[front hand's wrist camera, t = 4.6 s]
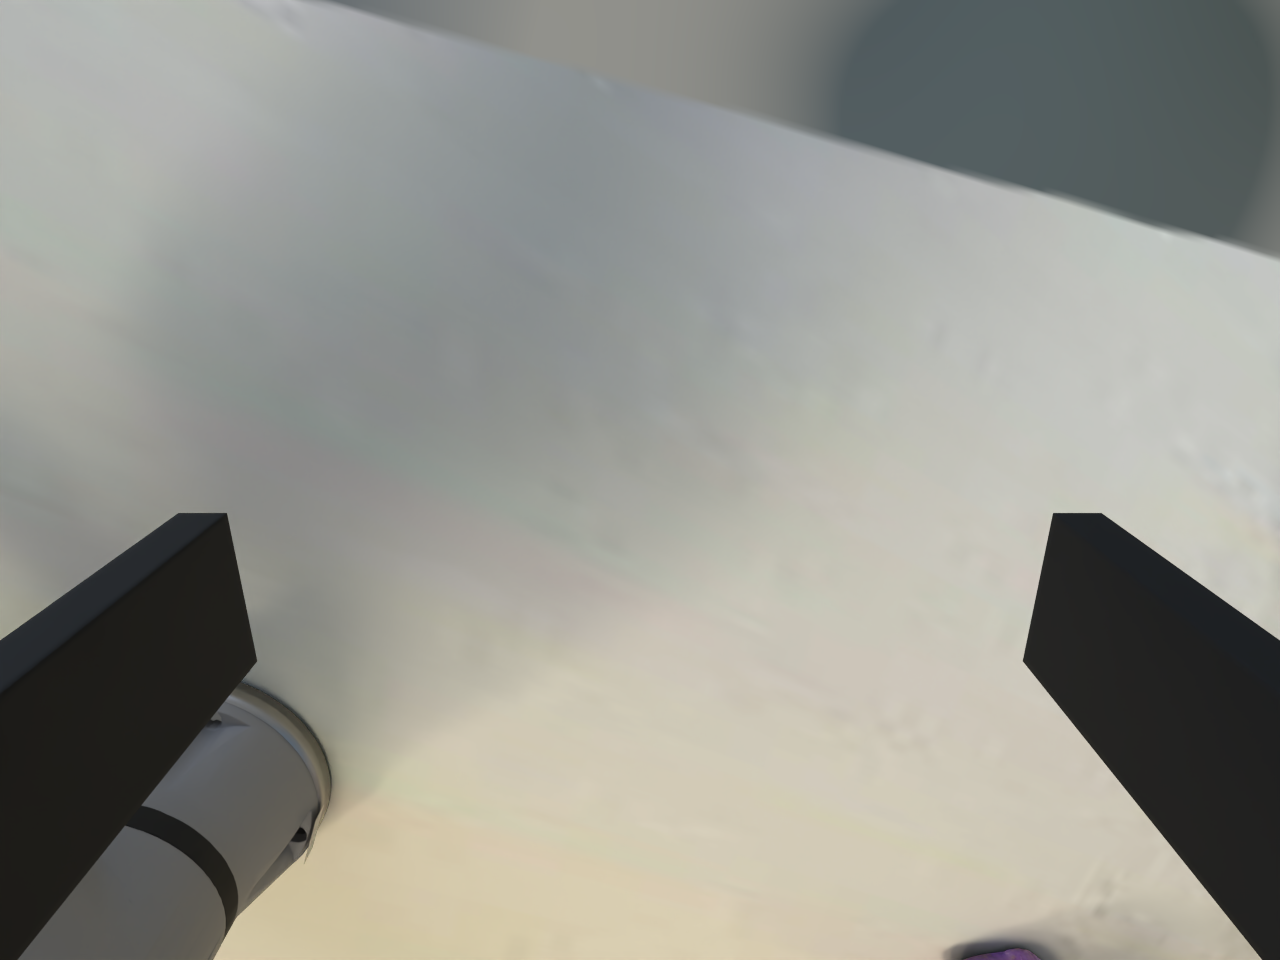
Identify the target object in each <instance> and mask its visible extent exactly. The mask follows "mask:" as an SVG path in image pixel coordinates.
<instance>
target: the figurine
mask: <svg viewBox="0 0 1280 960" xmlns="http://www.w3.org/2000/svg"><path fill="white" fill-rule="evenodd" d="M963 960H1041V959H1040V958H1038V957H1037V956H1036V955H1034V954H1033V953H1032V952H1030V951H1029V950H1026V949H1021V948H1015V949H1008V950H1006V951H1004V952H996V953H988V954H981V955H977V956H973V957H970V958H967V959H963Z"/></svg>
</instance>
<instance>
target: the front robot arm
mask: <svg viewBox="0 0 1280 960" xmlns="http://www.w3.org/2000/svg"><path fill="white" fill-rule="evenodd" d="M256 662H257V658H256V653H255V648H254V643H253V639H252V634H251V629H250V624H249V619H248V614H247V609H246V604H245V600H244V595H243V590H242V585H241V580H240V575H239V570H238V565H237V560H236V556H235V551H234V546H233V541H232V536H231V531H230V526H229V521H228V517H227V513H178V514H177V515H175V516H174V517H173V518H171V519H170V520H168V521H167V522H166V523H164V524H163V525H161V526H160V527H159V528H157V529H156V530H154V531H153V532H152V533H150V534H149V535H147V536H146V537H145V538H143V539H142V540H140V541H139V542H138V543H136V544H135V545H133V546H132V547H131V548H129V549H128V550H126V551H125V552H124V553H122V554H121V555H119V556H118V557H117V558H115V559H114V560H112V561H111V562H110V563H108V564H107V565H105V566H104V567H103V568H101V569H100V570H98V571H97V572H96V573H94V574H93V575H91V576H90V577H89V578H87V579H86V580H84V581H83V582H82V583H80V584H79V585H77V586H76V587H75V588H73V589H72V590H70V591H69V592H68V593H66V594H65V595H63V596H62V597H61V598H59V599H58V600H56V601H55V602H54V603H52V604H51V605H49V606H48V607H47V608H45V609H44V610H42V611H41V612H40V613H38V614H37V615H35V616H34V617H33V618H31V619H30V620H28V621H27V622H26V623H24V624H23V625H21V626H20V627H19V628H17V629H16V630H14V631H13V632H12V633H10V634H9V635H7V636H6V637H5V638H3V639H2V640H0V960H213V959H214V957H215V955H216V953H217V952H218V950H219V948H220V946H221V944H222V942H223V940H224V938H225V937H226V935H227V933H228V931H229V929H230V928H231V926H232V924H233V922H234V921H235V919H236V917H237V916H238V915H239V914H240V913H241V912H242V911H243V910H244V909H246V908H247V907H248V906H249V905H250V904H251V903H252V902H253V901H254V900H255V899H256V898H257V897H258V896H259V895H260V894H261V893H262V892H263V891H264V890H265V889H267V888H268V887H269V886H270V885H271V884H272V883H273V882H274V881H275V880H276V879H277V878H278V877H279V876H280V875H281V874H282V873H283V872H284V871H285V870H286V869H287V868H289V867H290V866H291V865H292V864H293V863H294V862H295V861H296V860H297V859H298V858H299V857H300V856H301V855H302V854H303V853H304V852H305V850H306V849H307V848H308V851H307V854H306V858H305V861H306V859H307V857H308V855H309V853H310V851H311V849H312V847H313V843H314V840H315V836H316V832H317V830H318V828H319V826H320V824H321V822H322V820H323V818H324V815H325V813H326V810H327V807H328V803H329V799H330V775H329V770H328V766H327V763H326V760H325V757H324V754H323V752H322V750H321V748H320V746H319V744H318V743H317V741H316V740H315V738H314V736H313V735H312V734H311V732H310V731H309V730H308V728H307V727H306V726H305V725H304V724H303V723H302V722H301V721H300V720H299V718H297V717H296V716H295V715H294V714H293V713H292V712H291V711H290V710H289V709H287V708H286V707H285V706H283V705H282V704H281V703H279V702H278V701H276V700H275V699H273V698H272V697H270V696H268V695H267V694H265V693H263V692H261V691H259V690H257V689H255V688H253V687H251V686H248V685H246V684H243V683H241V681H242V679H243V678H244V677H245V676H246V674H247V673H248V672H249V671H250V669H251V668H252V667H253V666H254V664H255V663H256ZM1023 662H1024V663H1025V664H1026V666H1027V667H1028V668H1029V669H1030V671H1031V672H1032V673H1033V674H1034V676H1035V677H1036V678H1037V679H1038V681H1039V682H1040V683H1041V684H1042V686H1043V687H1044V688H1045V689H1046V691H1047V692H1048V693H1049V694H1050V696H1051V697H1052V698H1053V699H1054V701H1055V702H1056V703H1057V704H1058V706H1059V707H1060V708H1061V709H1062V711H1063V712H1064V713H1065V714H1066V716H1067V717H1068V718H1069V719H1070V720H1071V722H1072V723H1073V724H1074V725H1075V727H1076V728H1077V729H1078V730H1079V732H1080V733H1081V734H1082V735H1083V737H1084V738H1085V739H1086V740H1087V742H1088V743H1089V744H1090V745H1091V747H1092V748H1093V749H1094V750H1095V752H1096V753H1097V754H1098V755H1099V757H1100V758H1101V759H1102V760H1103V762H1104V763H1105V764H1106V765H1107V767H1108V768H1109V769H1110V770H1111V772H1112V773H1113V774H1114V775H1115V777H1116V778H1117V779H1118V780H1119V782H1120V783H1121V784H1122V785H1123V787H1124V788H1125V789H1126V790H1127V792H1128V793H1129V794H1130V795H1131V797H1132V798H1133V799H1134V800H1135V802H1136V803H1137V804H1138V805H1139V807H1140V808H1141V809H1142V810H1143V812H1144V813H1145V814H1146V815H1147V816H1148V818H1149V819H1150V820H1151V821H1152V823H1153V824H1154V825H1155V826H1156V828H1157V829H1158V830H1159V831H1160V833H1161V834H1162V835H1163V836H1164V838H1165V839H1166V840H1167V841H1168V843H1169V844H1170V845H1171V846H1172V848H1173V849H1174V850H1175V851H1176V853H1177V854H1178V855H1179V856H1180V858H1181V859H1182V860H1183V861H1184V863H1185V864H1186V865H1187V866H1188V868H1189V869H1190V870H1191V871H1192V873H1193V874H1194V875H1195V876H1196V878H1197V879H1198V880H1199V881H1200V883H1201V884H1202V885H1203V886H1204V888H1205V889H1206V890H1207V891H1208V893H1209V894H1210V895H1211V896H1212V898H1213V899H1214V900H1215V901H1216V903H1217V904H1218V905H1219V906H1220V908H1221V909H1222V910H1223V911H1224V912H1225V914H1226V915H1227V916H1228V917H1229V919H1230V920H1231V921H1232V922H1233V924H1234V925H1235V926H1236V927H1237V929H1238V930H1239V931H1240V932H1241V934H1242V935H1243V936H1244V937H1245V939H1246V940H1247V941H1248V942H1249V944H1250V945H1251V946H1252V947H1253V949H1254V950H1255V951H1256V952H1257V954H1258V955H1259V956H1260V957H1261V959H1262V960H1280V640H1278V639H1277V638H1275V637H1274V636H1273V635H1271V634H1270V633H1268V632H1267V631H1266V630H1264V629H1263V628H1261V627H1260V626H1259V625H1257V624H1256V623H1254V622H1253V621H1252V620H1250V619H1249V618H1247V617H1246V616H1245V615H1243V614H1242V613H1240V612H1239V611H1238V610H1236V609H1235V608H1233V607H1232V606H1231V605H1229V604H1228V603H1226V602H1225V601H1224V600H1222V599H1221V598H1219V597H1218V596H1217V595H1215V594H1214V593H1212V592H1211V591H1210V590H1208V589H1207V588H1205V587H1204V586H1203V585H1201V584H1200V583H1198V582H1197V581H1196V580H1194V579H1193V578H1191V577H1190V576H1189V575H1187V574H1186V573H1184V572H1183V571H1182V570H1180V569H1179V568H1177V567H1176V566H1175V565H1173V564H1172V563H1170V562H1169V561H1168V560H1166V559H1165V558H1163V557H1162V556H1161V555H1159V554H1158V553H1156V552H1155V551H1154V550H1152V549H1151V548H1149V547H1148V546H1147V545H1145V544H1144V543H1142V542H1141V541H1140V540H1138V539H1137V538H1135V537H1134V536H1133V535H1131V534H1130V533H1128V532H1127V531H1126V530H1124V529H1123V528H1121V527H1120V526H1119V525H1117V524H1116V523H1114V522H1113V521H1112V520H1110V519H1109V518H1107V517H1106V516H1105V515H1103V514H1102V513H1053V517H1052V521H1051V526H1050V531H1049V536H1048V541H1047V546H1046V551H1045V556H1044V560H1043V565H1042V570H1041V575H1040V580H1039V585H1038V590H1037V595H1036V600H1035V604H1034V609H1033V614H1032V619H1031V624H1030V629H1029V634H1028V639H1027V643H1026V648H1025V653H1024V658H1023ZM308 846H309V847H308ZM304 863H305V862H304Z"/></svg>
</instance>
